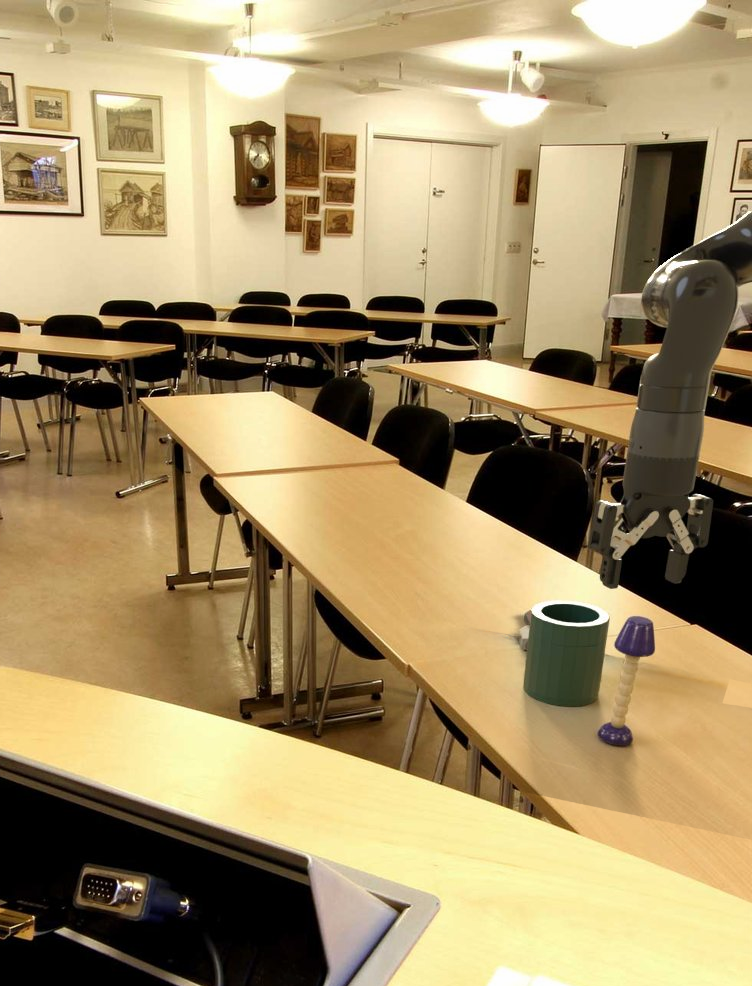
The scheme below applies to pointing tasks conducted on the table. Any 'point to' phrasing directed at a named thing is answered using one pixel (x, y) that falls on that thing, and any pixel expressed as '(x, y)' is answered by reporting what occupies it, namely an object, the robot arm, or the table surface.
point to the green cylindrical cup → (565, 652)
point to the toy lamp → (628, 675)
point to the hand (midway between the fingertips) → (641, 584)
